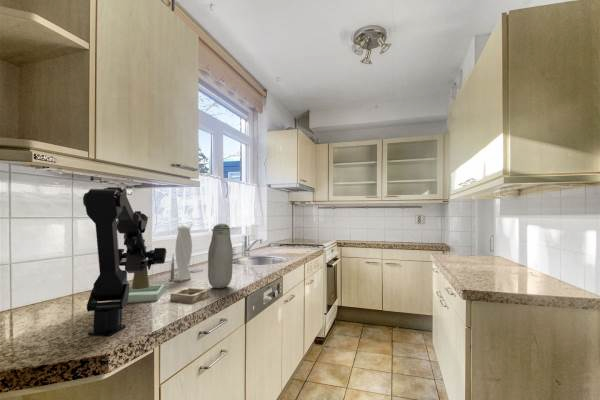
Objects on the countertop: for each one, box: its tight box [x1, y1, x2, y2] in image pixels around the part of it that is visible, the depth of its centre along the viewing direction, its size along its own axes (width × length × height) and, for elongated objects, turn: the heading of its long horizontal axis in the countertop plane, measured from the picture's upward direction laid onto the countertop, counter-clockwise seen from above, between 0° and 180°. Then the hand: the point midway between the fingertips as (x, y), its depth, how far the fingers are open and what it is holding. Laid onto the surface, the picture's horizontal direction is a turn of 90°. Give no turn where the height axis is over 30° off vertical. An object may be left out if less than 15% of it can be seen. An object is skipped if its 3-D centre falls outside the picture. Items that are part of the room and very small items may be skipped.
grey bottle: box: [207, 223, 234, 289], centre depth 130 cm, size 10×10×28 cm
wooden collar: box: [169, 287, 210, 304], centre depth 113 cm, size 10×10×2 cm
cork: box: [131, 258, 150, 289], centre depth 115 cm, size 6×6×11 cm
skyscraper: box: [169, 221, 193, 283], centre depth 145 cm, size 8×8×28 cm
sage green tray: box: [110, 284, 166, 304], centre depth 114 cm, size 15×15×2 cm
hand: (141, 269), depth 116 cm, fingers closed on cork, 5 cm apart
